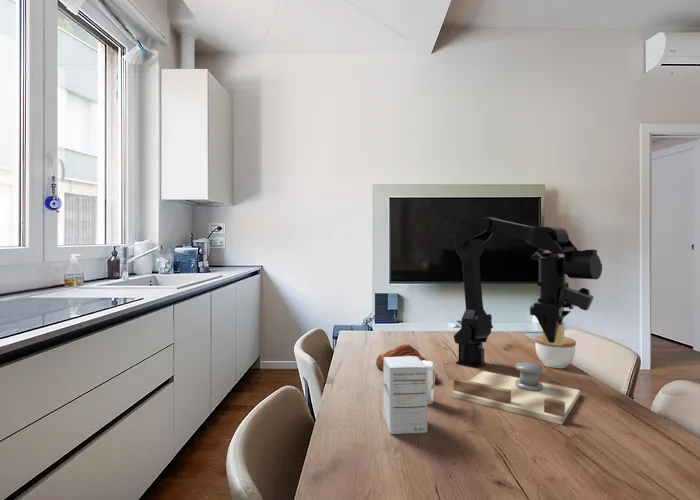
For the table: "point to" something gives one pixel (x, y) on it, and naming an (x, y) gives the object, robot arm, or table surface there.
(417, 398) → the supplement box
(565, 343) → the lidded jar
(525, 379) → the grey rounded knob
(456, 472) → the table surface
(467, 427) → the table surface
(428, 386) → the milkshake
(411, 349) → the pastry
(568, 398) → the board
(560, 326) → the tab
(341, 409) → the table surface
